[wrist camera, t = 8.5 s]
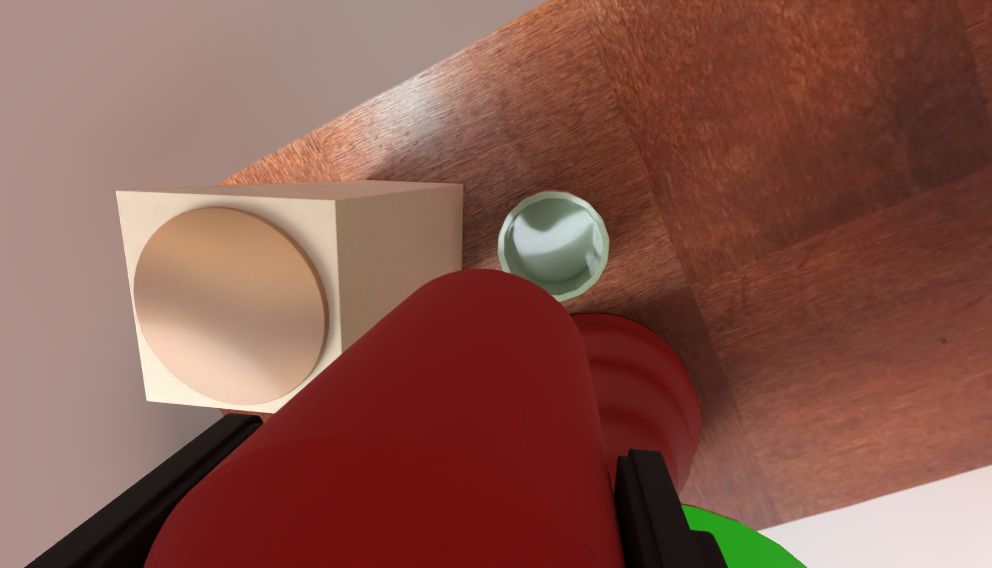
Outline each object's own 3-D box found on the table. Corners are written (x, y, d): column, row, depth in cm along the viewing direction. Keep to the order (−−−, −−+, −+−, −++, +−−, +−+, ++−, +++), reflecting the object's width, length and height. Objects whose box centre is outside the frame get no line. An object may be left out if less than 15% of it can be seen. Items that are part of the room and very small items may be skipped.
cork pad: (127, 202, 21) (119, 202, 20) (324, 211, 20) (319, 212, 19) (154, 392, 23) (147, 396, 22) (334, 409, 22) (329, 414, 21)
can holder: (506, 187, 46) (499, 189, 41) (607, 191, 45) (613, 194, 40) (502, 284, 48) (495, 297, 43) (598, 289, 47) (603, 304, 42)
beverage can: (356, 383, 17) (-65, 845, 5) (451, 222, 15) (126, 395, 4) (517, 482, 17) (443, 1132, 6) (628, 334, 15) (857, 838, 4)
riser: (365, 179, 48) (115, 190, 21) (463, 183, 47) (335, 199, 20) (367, 277, 50) (146, 401, 23) (461, 283, 49) (344, 420, 22)
